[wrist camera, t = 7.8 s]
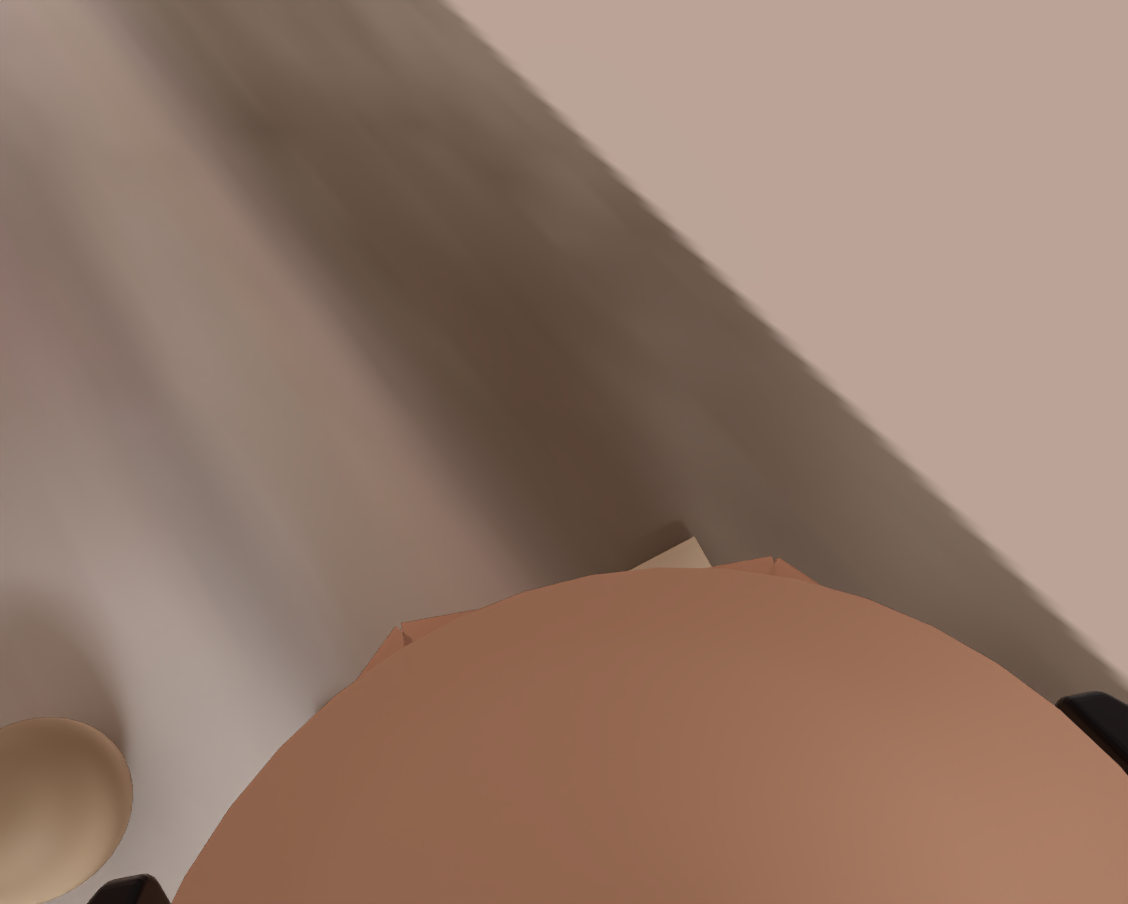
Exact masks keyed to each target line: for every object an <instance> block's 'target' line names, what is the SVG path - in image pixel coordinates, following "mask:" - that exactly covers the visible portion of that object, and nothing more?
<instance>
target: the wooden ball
mask: <svg viewBox="0 0 1128 904" xmlns="http://www.w3.org/2000/svg"><path fill="white" fill-rule="evenodd" d="M132 801H133V786H132V780H131V775H130V771H129V768H128V765H127V763H126V761H125V759H124V757H123V755H122V754H121V752H120V751H119V749H118V748H117V747H116V745H115V744H114V743H113V742H112V741H111V740H110V739H109V738H107V737H106V736H105V735H104V734H103V733H101V732H100V731H98V730H97V729H95V728H93V727H91V726H89V725H86V724H84V723H81V722H78V721H75V720H71V719H65V718H56V717H41V718H35V719H28V720H23V721H19V722H16V723H13V724H10V725H8V726H5V727H3V728H1V729H0V904H38V903H42V902H45V901H49V900H52V899H55V898H57V897H59V896H61V895H64V894H66V893H67V892H69V891H71V890H73V889H74V888H76V887H78V886H79V885H81V884H82V883H84V882H85V881H86V880H87V879H89V878H90V877H91V876H92V875H94V874H95V873H96V872H97V871H98V870H99V869H100V868H101V867H102V866H103V865H104V864H105V863H106V861H107V860H108V859H109V858H110V856H111V855H112V854H113V852H114V851H115V849H116V847H117V846H118V844H119V843H120V841H121V839H122V837H123V835H124V833H125V831H126V828H127V825H128V822H129V819H130V815H131V810H132Z"/></svg>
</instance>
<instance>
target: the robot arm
mask: <svg viewBox="0 0 1128 904" xmlns="http://www.w3.org/2000/svg"><path fill="white" fill-rule="evenodd" d="M1055 707H1057V708H1058V709H1059V710H1061V711H1062V712H1063V713H1064V714H1065V715H1066V716H1067V717H1068V718H1069V719H1070V720H1071V721H1072V722H1073V723H1075V724H1076V725H1077V726H1078V727H1079V728H1080V729H1081V730H1082V731H1083V732H1084V733H1085V734H1086V735H1087V736H1088V737H1089V738H1090V739H1092V740H1093V741H1094V742H1095V743H1096V744H1097V745H1098V746H1099V747H1100V748H1101V749H1102V750H1103V751H1104V752H1105V753H1106V754H1107V755H1109V756H1110V757H1111V758H1112V759H1113V760H1114V761H1115V762H1116V763H1117V764H1118V765H1119V766H1120V767H1121V768H1122V769H1123V771H1124V772H1125V773H1126V774H1127V775H1128V705H1127V704H1125V703H1123V702H1121V701H1120V700H1118V699H1116V698H1114V697H1113V696H1110V695H1108V694H1106V693H1103V692H1098V691H1093V692H1086V693H1081V694H1076V695H1071V696H1065V697H1063V698H1061V699H1060V700H1059V701H1058V702H1057V703H1056V705H1055ZM87 904H171V903H170V901H169V899H168V898H167V896H166V894H165V893H164V891H163V889H162V888H161V886H160V884H159V882H158V881H157V880H156V878H155V877H153V876H151V875H149V874H140V875H134V876H129V877H124V878H119V879H114V880H112V881H109V882H107V883H106V884H104V885H103V886H102V887H101V888H100V889H99V890H98V891H97V892H96V893H95V894H94V896H93V897H92V898H91V899H90V901H89V902H88V903H87Z"/></svg>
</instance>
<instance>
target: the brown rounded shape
mask: <svg viewBox="0 0 1128 904" xmlns="http://www.w3.org/2000/svg"><path fill="white" fill-rule="evenodd" d="M401 626H402V629H400V628H397V627H395V628H394V629H393V631H392V632H391V633H390V635H389V636H388V637H387V639H386V640H385V642H384V643H383V644H382V646H381V647H380V648H379V650H378V651H377V652H376V654H375V655H374V657H373V658H372V659H371V661H370V662H369V663H368V665H367V666H366V668H365V669H364V670H363V672H362V673H361V674H360V676H359V677H358V678H357V680H356V681H355V682H353V683H352V684H351V685H349V686H348V687H347V688H345V689H344V690H342V691H341V692H340V693H338V694H337V695H336V696H334V697H333V698H332V699H331V700H330V701H329V702H328V703H327V704H326V705H325V706H324V707H323V708H322V709H321V710H319V711H318V712H317V713H316V714H315V715H314V716H313V717H312V718H311V719H310V720H309V721H308V722H307V723H306V724H305V725H304V726H302V727H301V728H300V729H299V730H298V731H297V732H296V733H295V734H294V735H293V736H292V737H291V738H290V739H289V740H288V741H286V742H285V743H284V744H283V745H282V746H281V747H280V748H279V749H278V750H277V752H276V753H275V754H274V755H273V756H272V758H271V759H270V760H269V761H268V762H267V764H266V765H265V766H264V767H263V768H262V770H261V771H260V772H259V773H258V774H257V776H256V777H255V778H254V779H253V780H252V782H251V783H250V784H249V785H248V786H247V788H246V789H245V790H244V791H243V792H242V794H241V795H240V796H239V797H238V798H237V800H236V801H235V802H234V803H233V804H232V806H231V807H230V808H229V809H228V811H227V813H226V814H225V816H224V817H223V819H222V820H221V822H220V823H219V825H218V826H217V828H216V829H215V831H214V832H213V834H212V836H211V837H210V839H209V840H208V842H207V843H206V845H205V846H204V848H203V849H202V851H201V852H200V854H199V855H198V857H197V859H196V860H195V862H194V863H193V865H192V866H191V868H190V869H189V871H188V872H187V874H186V875H185V877H184V879H183V881H182V883H181V885H180V887H179V889H178V891H177V893H176V895H175V897H174V899H173V901H172V903H171V904H1128V775H1127V774H1126V773H1125V772H1124V771H1123V769H1122V768H1121V767H1120V766H1119V765H1118V764H1117V763H1116V762H1115V761H1114V760H1113V759H1112V758H1111V757H1110V756H1109V755H1107V754H1106V753H1105V752H1104V751H1103V750H1102V749H1101V748H1100V747H1099V746H1098V745H1097V744H1096V743H1095V742H1094V741H1093V740H1092V739H1090V738H1089V737H1088V736H1087V735H1086V734H1085V733H1084V732H1083V731H1082V730H1081V729H1080V728H1079V727H1078V726H1077V725H1076V724H1075V723H1073V722H1072V721H1071V720H1070V719H1069V718H1068V717H1067V716H1066V715H1065V714H1064V713H1063V712H1062V711H1061V710H1059V709H1058V708H1057V707H1055V706H1054V705H1053V704H1051V703H1050V702H1049V701H1047V700H1046V699H1045V698H1043V697H1042V696H1041V695H1039V694H1038V693H1036V692H1035V691H1034V690H1032V689H1031V688H1030V687H1028V686H1027V685H1026V684H1024V683H1023V682H1022V681H1020V680H1019V679H1018V678H1016V677H1015V676H1014V675H1012V674H1011V673H1010V672H1008V671H1007V670H1006V669H1004V668H1003V667H1002V666H1000V665H999V664H997V663H995V662H994V661H992V660H990V659H989V658H987V657H985V656H983V655H982V654H980V653H978V652H976V651H975V650H973V649H971V648H969V647H968V646H966V645H964V644H962V643H961V642H959V641H957V640H955V639H954V638H952V637H950V636H949V635H947V634H945V633H943V632H942V631H940V630H938V629H936V628H935V627H933V626H930V625H928V624H926V623H923V622H921V621H918V620H916V619H914V618H911V617H909V616H907V615H904V614H902V613H900V612H897V611H895V610H892V609H890V608H888V607H885V606H883V605H881V604H878V603H876V602H874V601H871V600H869V599H866V598H863V597H859V596H856V595H852V594H849V593H845V592H842V591H838V590H835V589H831V588H828V587H824V586H821V585H819V584H818V583H816V582H815V581H813V580H812V579H810V578H809V577H807V576H806V575H804V574H803V573H801V572H800V571H798V570H797V569H795V568H794V567H792V566H791V565H789V564H788V563H786V562H785V561H783V560H782V559H780V558H779V557H778V558H777V559H775V560H774V561H773V558H772V556H769V557H763V558H758V559H752V560H747V561H741V562H736V563H730V564H724V565H719V566H713V567H708V568H663V567H658V568H650V569H641V570H632V571H623V572H614V573H605V574H597V575H589V576H585V577H581V578H577V579H573V580H569V581H565V582H561V583H557V584H553V585H549V586H545V587H541V588H537V589H533V590H529V591H525V592H522V593H519V594H517V595H514V596H511V597H509V598H506V599H504V600H501V601H499V602H496V603H494V604H491V605H489V606H486V607H484V608H481V609H476V610H470V611H465V612H459V613H454V614H448V615H443V616H437V617H432V618H426V619H420V620H415V621H409V622H404V623H401Z"/></svg>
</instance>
